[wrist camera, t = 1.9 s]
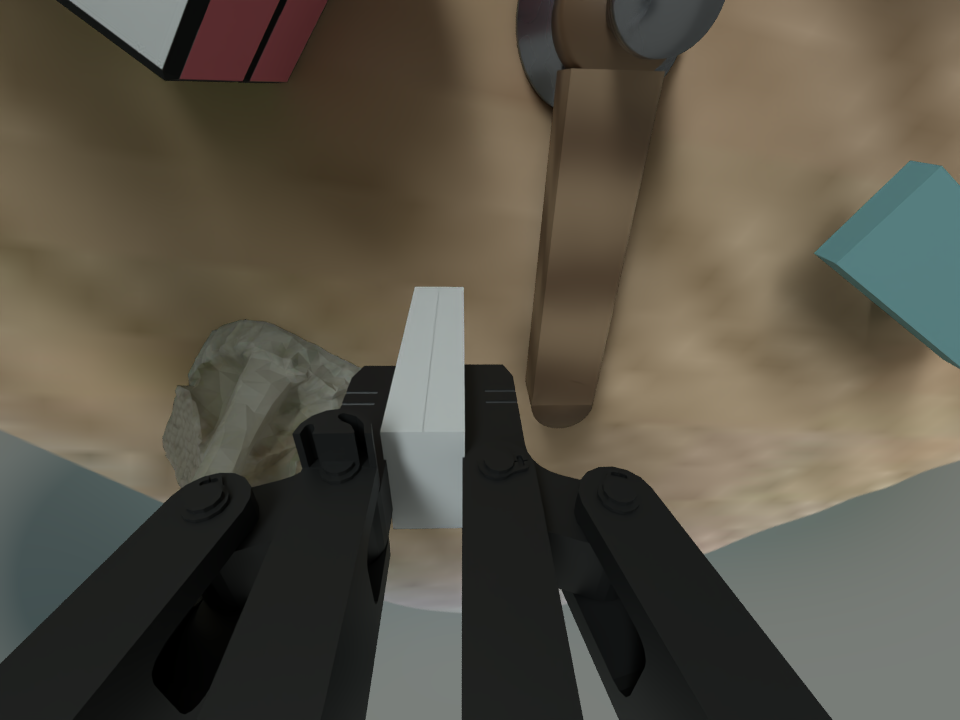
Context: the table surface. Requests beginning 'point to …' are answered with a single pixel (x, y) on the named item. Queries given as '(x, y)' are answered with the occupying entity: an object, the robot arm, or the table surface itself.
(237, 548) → the robot arm
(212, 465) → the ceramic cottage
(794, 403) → the table surface
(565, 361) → the walnut link
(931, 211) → the block
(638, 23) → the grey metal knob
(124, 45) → the puzzle cube
